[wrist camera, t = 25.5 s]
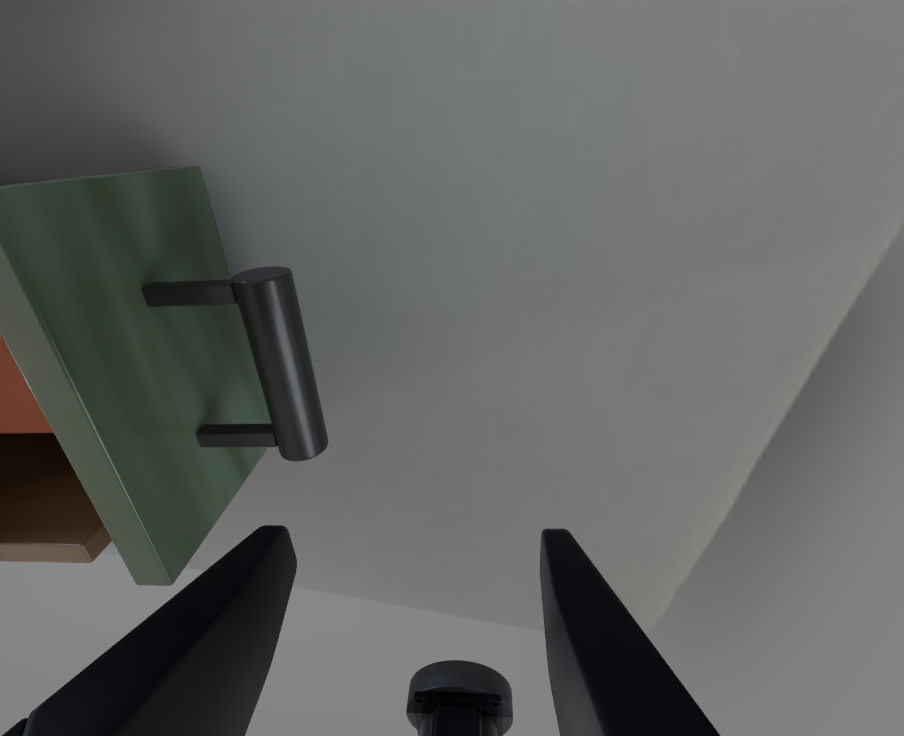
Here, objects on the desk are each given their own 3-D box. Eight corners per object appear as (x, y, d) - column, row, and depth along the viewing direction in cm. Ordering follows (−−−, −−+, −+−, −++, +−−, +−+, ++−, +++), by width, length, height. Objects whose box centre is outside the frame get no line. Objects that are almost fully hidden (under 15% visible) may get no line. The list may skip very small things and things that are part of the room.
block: (168, 375, 18) (92, 434, 15) (76, 377, 19) (-19, 434, 15) (131, 279, 17) (35, 318, 13) (30, 283, 17) (-90, 322, 13)
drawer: (321, 158, 15) (187, 178, 8) (368, 436, 21) (308, 590, 14) (-123, 184, 17) (-549, 220, 10) (25, 438, 22) (-186, 578, 15)
